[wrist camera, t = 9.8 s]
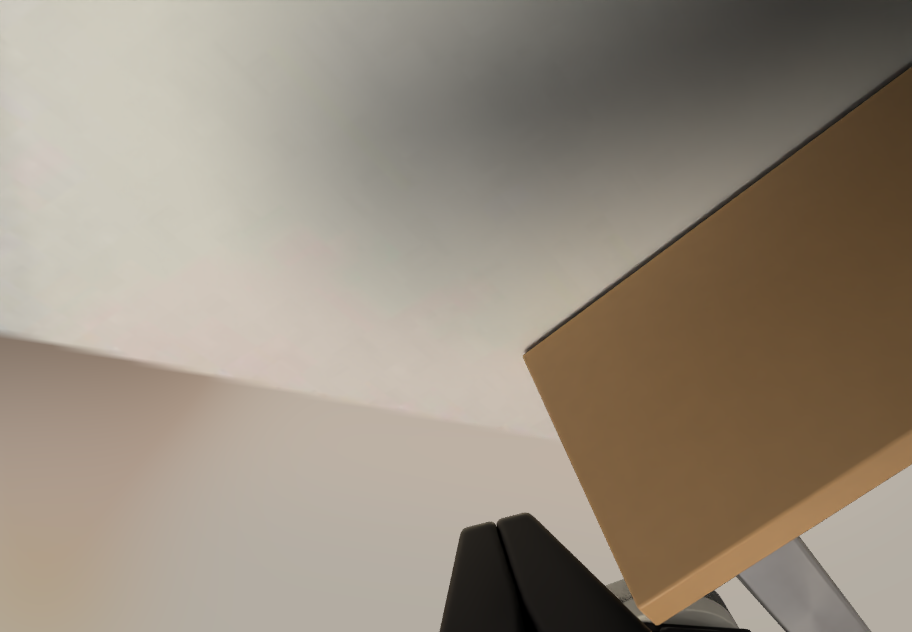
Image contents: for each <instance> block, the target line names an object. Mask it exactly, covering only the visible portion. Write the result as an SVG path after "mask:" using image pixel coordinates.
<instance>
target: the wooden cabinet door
mask: <svg viewBox="0 0 912 632" xmlns="http://www.w3.org/2000/svg"><path fill="white" fill-rule="evenodd" d="M523 359H524V361H525V363H526V365H527V367H528V370H529V372H530V374H531V376H532V378H533V380H534V383H535V385H536V387H537V389H538V391H539V394H540V396H541V398H542V400H543V402H544V405H545V407H546V409H547V411H548V413H549V416H550V418H551V420H552V422H553V424H554V426H555V429H556V431H557V433H558V435H559V437H560V440H561V442H562V444H563V446H564V448H565V450H566V452H567V455H568V457H569V459H570V461H571V464H572V466H573V468H574V470H575V472H576V474H577V477H578V479H579V481H580V483H581V485H582V487H583V490H584V492H585V494H586V496H587V498H588V501H589V503H590V505H591V507H592V509H593V512H594V514H595V516H596V518H597V521H598V523H599V525H600V527H601V529H602V531H603V534H604V536H605V538H606V540H607V542H608V545H609V547H610V549H611V551H612V553H613V555H614V558H615V560H616V562H617V564H618V566H619V568H620V571H621V573H622V575H623V577H624V580H625V582H626V584H627V586H628V588H629V591H630V593H631V595H632V597H633V599H634V601H635V604H636V606H637V608H638V609H639V610H640V611H641V612H642V613H643V614H644V615H645V616H646V617H647V618H649V619H650V620H651V621H652V622H653V623H654V624H655V625H660V624H662V623H663V622H665V621H666V620H668V619H670V618H671V617H673V616H674V615H676V614H677V613H679V612H681V611H682V610H684V609H685V608H687V607H688V606H690V605H692V604H693V603H695V602H696V601H698V600H699V599H701V598H703V597H704V596H706V595H707V594H709V593H710V592H712V591H714V590H715V589H717V588H718V587H720V586H721V585H723V584H725V583H726V582H728V581H729V580H731V579H732V578H734V577H735V576H736V577H737V578H738V579H739V580H740V581H741V582H742V583H743V585H744V586H745V587H746V588H747V589H748V590H749V591H750V592H751V594H753V596H754V597H755V598H756V599H757V600H758V601H759V602H760V604H761V605H762V606H763V607H764V608H765V609H766V610H767V611H768V612H769V614H770V615H771V616H772V617H773V618H774V619H775V620H776V621H777V622H778V624H779V625H780V626H781V627H782V628H783V629H784V630H785V631H786V632H871V631H870V629H869V628H868V627H867V625H866V624H865V623H864V622H863V620H862V619H861V618H860V616H859V615H858V614H857V612H856V611H855V610H854V608H853V607H852V606H851V604H850V603H849V602H848V600H847V599H846V598H845V597H844V595H843V594H842V592H841V591H840V590H839V588H838V587H837V586H836V584H835V583H834V582H833V580H832V579H831V578H830V577H829V575H828V574H827V573H826V571H825V570H824V569H823V568H822V566H821V565H820V563H819V562H818V561H817V559H816V558H815V557H814V555H813V554H812V553H811V551H810V550H809V549H808V547H807V546H806V545H805V543H804V542H803V541H802V540H801V538H800V537H799V535H801V534H803V533H804V532H806V531H808V530H809V529H811V528H812V527H814V526H816V525H817V524H819V523H820V522H822V521H823V520H825V519H827V518H828V517H830V516H831V515H833V514H834V513H836V512H837V511H839V510H841V509H842V508H844V507H845V506H847V505H849V504H850V503H852V502H853V501H855V500H856V499H858V498H859V497H861V496H863V495H864V494H866V493H867V492H869V491H871V490H872V489H874V488H875V487H877V486H878V485H880V484H881V483H883V482H885V481H886V480H888V479H889V478H891V477H892V476H894V475H896V474H897V473H899V472H900V471H902V470H903V469H905V468H907V467H908V466H910V465H911V464H912V67H910V68H909V69H908V70H906V71H905V72H904V73H902V74H901V75H900V76H898V77H897V78H896V79H894V80H893V81H892V82H890V83H889V84H888V85H886V86H885V87H884V88H882V89H881V90H879V91H878V92H877V93H875V94H874V95H873V96H871V97H870V98H869V99H867V100H866V101H865V102H863V103H862V104H861V105H859V106H858V107H857V108H855V109H854V110H853V111H851V112H850V113H849V114H847V115H846V116H844V117H843V118H842V119H840V120H839V121H838V122H836V123H835V124H834V125H832V126H831V127H830V128H828V129H827V130H826V131H824V132H823V133H822V134H820V135H819V136H818V137H816V138H815V139H814V140H812V141H811V142H809V143H808V144H807V145H805V146H804V147H803V148H801V149H800V150H799V151H797V152H796V153H795V154H793V155H792V156H791V157H789V158H788V159H787V160H785V161H784V162H783V163H781V164H780V165H779V166H777V167H776V168H774V169H773V170H772V171H770V172H769V173H768V174H766V175H765V176H764V177H762V178H761V179H760V180H758V181H757V182H756V183H754V184H753V185H752V186H750V187H749V188H748V189H746V190H745V191H744V192H742V193H741V194H739V195H738V196H737V197H735V198H734V199H733V200H731V201H730V202H729V203H727V204H726V205H725V206H723V207H722V208H721V209H719V210H718V211H717V212H715V213H714V214H713V215H711V216H710V217H709V218H707V219H706V220H705V221H703V222H702V223H700V224H699V225H698V226H696V227H695V228H694V229H692V230H691V231H690V232H688V233H687V234H686V235H684V236H683V237H682V238H680V239H679V240H678V241H676V242H675V243H674V244H672V245H671V246H670V247H668V248H667V249H665V250H664V251H663V252H661V253H660V254H659V255H657V256H656V257H655V258H653V259H652V260H651V261H649V262H648V263H647V264H645V265H644V266H643V267H641V268H640V269H639V270H637V271H636V272H635V273H633V274H632V275H630V276H629V277H628V278H626V279H625V280H624V281H622V282H621V283H620V284H618V285H617V286H616V287H614V288H613V289H612V290H610V291H609V292H608V293H606V294H605V295H604V296H602V297H601V298H600V299H598V300H597V301H595V302H594V303H593V304H591V305H590V306H589V307H587V308H586V309H585V310H583V311H582V312H581V313H579V314H578V315H577V316H575V317H574V318H573V319H571V320H570V321H569V322H567V323H566V324H565V325H563V326H562V327H560V328H559V329H558V330H556V331H555V332H554V333H552V334H551V335H550V336H548V337H547V338H546V339H544V340H543V341H542V342H540V343H539V344H538V345H536V346H535V347H534V348H532V349H531V350H530V351H528V352H527V353H525V354H524V355H523Z"/></svg>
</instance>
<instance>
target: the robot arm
mask: <svg viewBox="0 0 912 632" xmlns="http://www.w3.org/2000/svg"><path fill="white" fill-rule="evenodd" d="M440 632H751V631H750V630H748V629H739V628H724V627H709V626H694V625H679V624H664V623H662V624H660V625H655V624H654V623H649V622H642V621H641V620H640V619H639V618H638V617H636V616H635V615H634V614H633V613H632V612H631V611H630V610H629V609H628V608H627V607H626V606H625V605H624V604H623V603H622V602H621V601H620V600H619V599H618V598H617V597H616V596H615V595H614V594H613V593H612V592H611V591H610V590H609V589H608V588H607V587H606V586H605V585H604V584H603V583H601V582H600V581H599V580H598V579H597V578H596V577H595V576H594V575H593V574H592V573H591V572H590V571H589V570H588V569H587V568H586V567H585V566H584V565H583V564H582V563H581V562H580V561H579V560H578V559H577V558H576V557H575V556H573V554H572V553H571V552H570V551H569V550H567V548H565V547H564V546H563V545H562V544H561V543H560V542H559V541H558V540H557V539H556V538H555V537H554V536H553V535H552V534H551V533H550V532H549V531H548V530H547V529H546V528H545V527H544V526H543V525H542V524H541V523H540V522H539V521H538V520H536V518H534V517H533V516H532V515H531V514H529V513H521V514H517V515H513V516H509V517H505V518H502V519H500V520H499V521H498V522H497V527H496V525H495V524H494V523H493V522H486V523H482V524H479V525H474V526H471V527H467V528H464V529H463V531H462V532H461V534H460V539H459V543H458V548H457V552H456V557H455V562H454V567H453V571H452V577H451V581H450V585H449V590H448V595H447V600H446V604H445V609H444V613H443V618H442V623H441V628H440Z"/></svg>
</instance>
